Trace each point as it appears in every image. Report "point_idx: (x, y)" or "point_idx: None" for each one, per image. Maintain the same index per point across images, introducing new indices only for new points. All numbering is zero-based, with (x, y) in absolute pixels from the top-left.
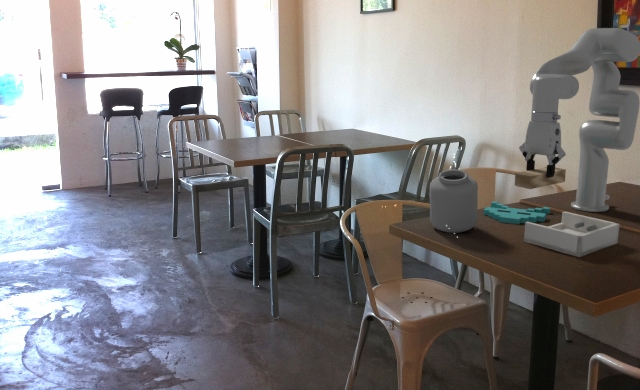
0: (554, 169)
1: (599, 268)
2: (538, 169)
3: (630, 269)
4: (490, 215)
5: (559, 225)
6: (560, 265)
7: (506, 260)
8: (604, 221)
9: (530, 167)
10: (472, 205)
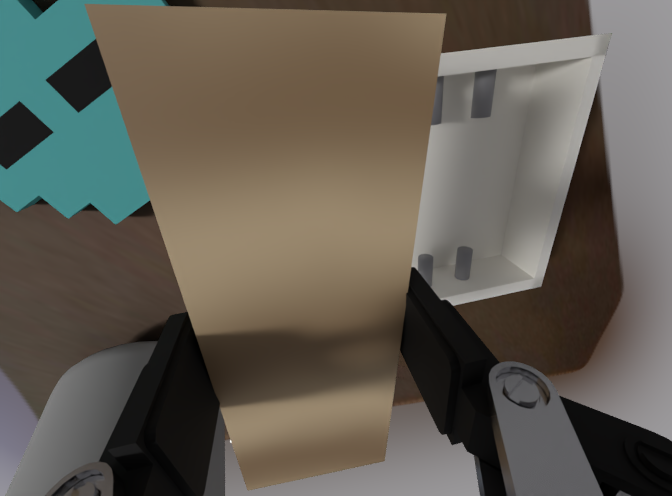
0: (470, 336)
1: (555, 271)
2: (227, 318)
3: (607, 222)
4: (34, 201)
5: None
6: (492, 320)
7: (410, 379)
8: (551, 59)
9: (208, 414)
10: (219, 442)
